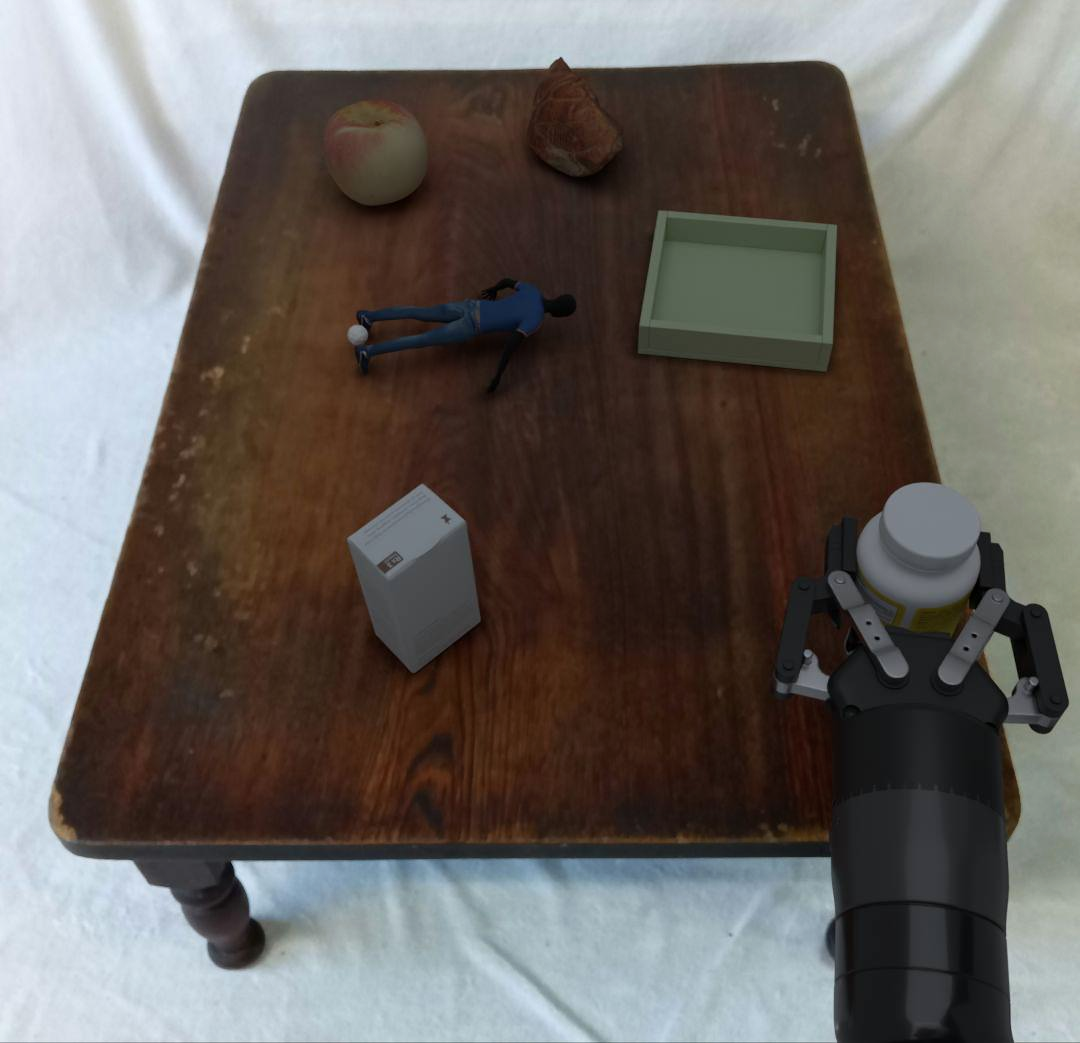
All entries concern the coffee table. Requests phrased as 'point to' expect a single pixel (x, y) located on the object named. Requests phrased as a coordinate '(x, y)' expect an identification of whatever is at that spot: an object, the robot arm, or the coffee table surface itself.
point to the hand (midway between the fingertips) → (911, 533)
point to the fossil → (571, 124)
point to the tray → (740, 291)
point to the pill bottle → (920, 558)
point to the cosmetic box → (417, 576)
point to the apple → (375, 151)
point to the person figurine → (465, 322)
